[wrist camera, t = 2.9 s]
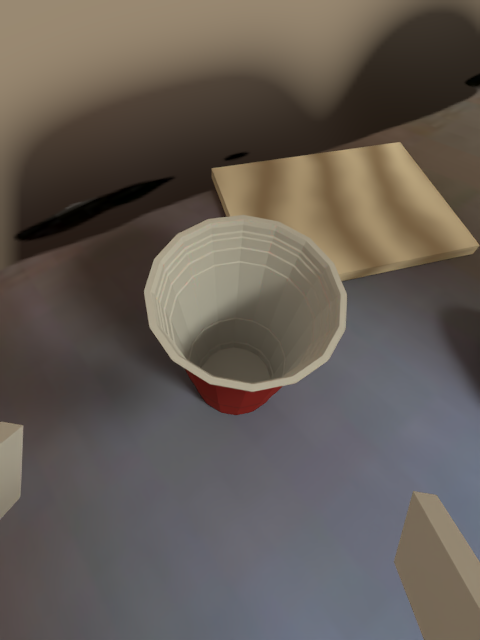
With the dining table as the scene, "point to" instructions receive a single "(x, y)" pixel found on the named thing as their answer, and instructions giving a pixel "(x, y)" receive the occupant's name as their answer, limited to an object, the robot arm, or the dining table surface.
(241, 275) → the plastic cup
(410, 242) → the birch board
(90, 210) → the dining table surface
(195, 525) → the dining table surface
